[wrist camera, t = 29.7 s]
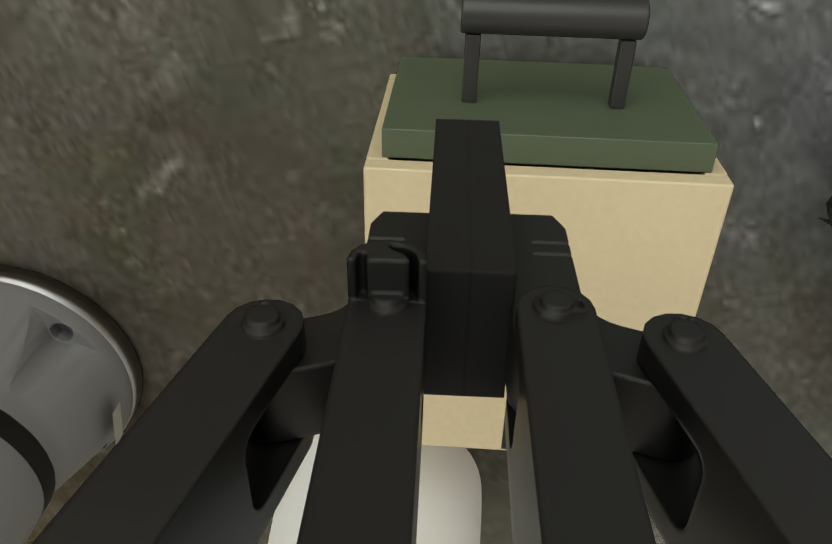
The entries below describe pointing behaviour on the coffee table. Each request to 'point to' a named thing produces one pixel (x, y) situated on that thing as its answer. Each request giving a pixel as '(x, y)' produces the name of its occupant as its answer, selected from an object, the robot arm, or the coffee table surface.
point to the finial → (829, 212)
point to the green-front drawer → (553, 94)
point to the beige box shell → (578, 249)
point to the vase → (437, 507)
